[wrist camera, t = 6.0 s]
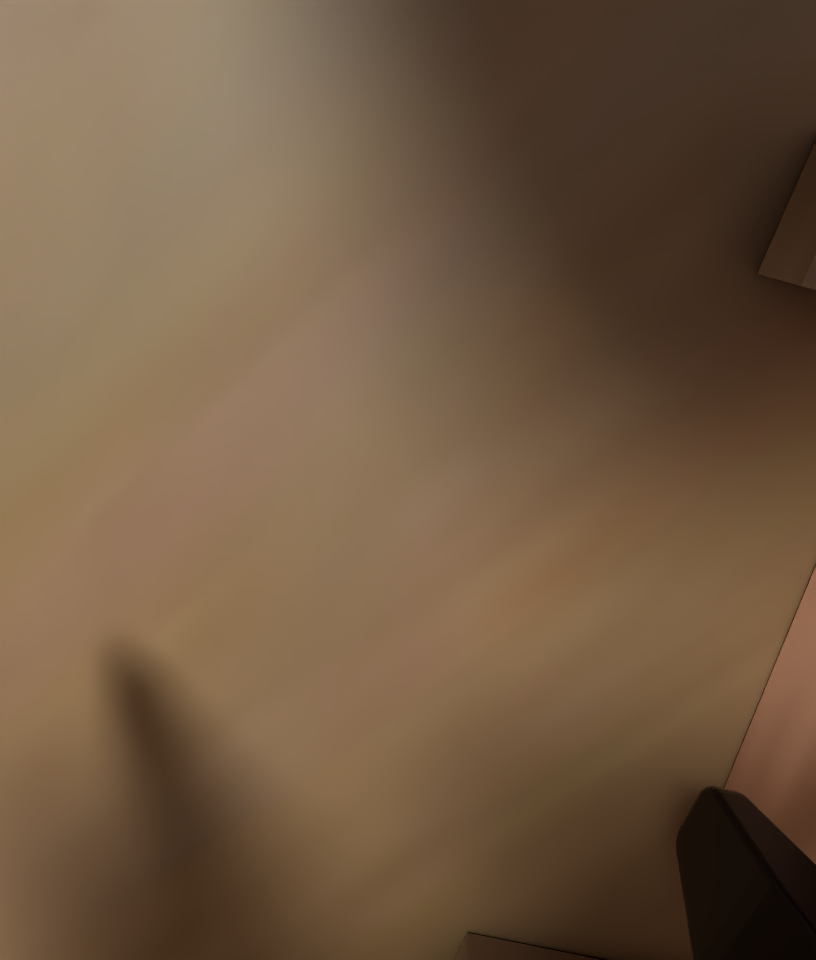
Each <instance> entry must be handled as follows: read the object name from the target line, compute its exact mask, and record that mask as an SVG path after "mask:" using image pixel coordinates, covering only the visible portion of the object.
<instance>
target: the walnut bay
mask: <svg viewBox="0 0 816 960" xmlns="http://www.w3.org/2000/svg"><path fill="white" fill-rule="evenodd" d="M757 274H759V275H763V276H767V277H770V278H774V279H777V280H781V281H785V282H788V283H792V284H795V285H799V286H803V287H806V288H810V289H814V290H816V141H815V144H814V146H813V148H812V151H811V153H810V155H809V157H808V160H807V162H806V164H805V166H804V169H803V171H802V173H801V176H800V178H799V180H798V182H797V185H796V187H795V189H794V191H793V194H792V196H791V198H790V201H789V203H788V205H787V207H786V210H785V212H784V214H783V216H782V219H781V221H780V223H779V225H778V228H777V230H776V232H775V235H774V237H773V239H772V241H771V244H770V246H769V248H768V250H767V253H766V255H765V257H764V260H763V262H762V264H761V266H760V269H759V271H758V273H757ZM455 960H600V959H595V958H590V957H585V956H580V955H575V954H570V953H565V952H560V951H555V950H550V949H545V948H540V947H535V946H530V945H526V944H521V943H516V942H511V941H506V940H501V939H496V938H491V937H486V936H481V935H476V934H471V933H467V934H466V936H465V938H464V941H463V943H462V945H461V947H460V950H459V952H458V954H457V956H456V959H455Z"/></svg>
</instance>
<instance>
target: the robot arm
mask: <svg viewBox="0 0 816 960" xmlns="http://www.w3.org/2000/svg"><path fill="white" fill-rule="evenodd" d="M676 852H677V859H678V865H679V872H680V878H681V884H682V890H683V897H684V903H685V909H686V916H687V922H688V928H689V934H690V941H691V947H692V953H693V959H694V960H816V864H815V863H814V862H813V861H812V860H811V859H810V858H809V857H808V856H807V855H806V854H805V853H803V852H802V851H801V850H800V849H799V848H798V847H797V846H796V845H795V844H794V843H793V842H792V841H791V840H790V839H789V838H788V837H787V836H786V835H785V834H784V833H783V832H782V831H781V830H780V829H779V828H778V827H777V826H776V825H775V824H774V823H773V822H772V821H771V820H770V819H769V818H768V817H767V816H766V815H765V814H764V813H762V812H761V811H760V810H759V809H758V808H757V807H756V806H755V805H754V804H753V803H752V802H751V801H750V800H749V799H748V798H747V797H746V796H745V795H743V794H742V793H740V792H737V791H734V790H729V789H724V788H720V787H715V786H708V787H706V788H704V789H703V790H702V791H701V792H700V794H699V795H698V797H697V799H696V801H695V802H694V804H693V806H692V808H691V809H690V811H689V813H688V815H687V816H686V818H685V820H684V822H683V823H682V825H681V827H680V829H679V831H678V835H677V840H676Z"/></svg>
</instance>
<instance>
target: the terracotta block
mask: <svg viewBox="0 0 816 960" xmlns="http://www.w3.org/2000/svg"><path fill="white" fill-rule="evenodd" d="M724 789H729V790H734V791H737V792H740V793H742V794H743V795H745V796H746V797H747V798H748V799H749V800H750V801H751V802H752V803H753V804H754V805H755V806H756V807H757V808H758V809H759V810H760V811H761V812H762V813H764V814H765V815H766V816H767V817H768V818H769V819H770V820H771V821H772V822H773V823H774V824H775V825H776V826H777V827H778V828H779V829H780V830H781V831H782V832H783V833H784V834H785V835H786V836H787V837H788V838H789V839H790V840H791V841H792V842H793V843H794V844H795V845H796V846H797V847H798V848H799V849H800V850H801V851H802V852H803V853H805V854H806V855H807V856H808V857H809V858H810V859H811V860H812V861H813V862H814V863H815V864H816V567H815V569H814V571H813V574H812V576H811V579H810V581H809V584H808V586H807V588H806V591H805V593H804V596H803V598H802V600H801V603H800V605H799V608H798V610H797V613H796V615H795V617H794V620H793V622H792V625H791V627H790V630H789V632H788V634H787V637H786V639H785V642H784V644H783V647H782V649H781V651H780V654H779V656H778V659H777V661H776V663H775V666H774V668H773V671H772V673H771V676H770V678H769V680H768V683H767V685H766V688H765V690H764V693H763V695H762V697H761V700H760V702H759V705H758V707H757V710H756V712H755V714H754V717H753V719H752V722H751V724H750V726H749V729H748V731H747V734H746V736H745V739H744V741H743V743H742V746H741V748H740V751H739V753H738V756H737V758H736V760H735V763H734V765H733V768H732V770H731V773H730V775H729V777H728V780H727V782H726V785H725V787H724Z"/></svg>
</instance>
